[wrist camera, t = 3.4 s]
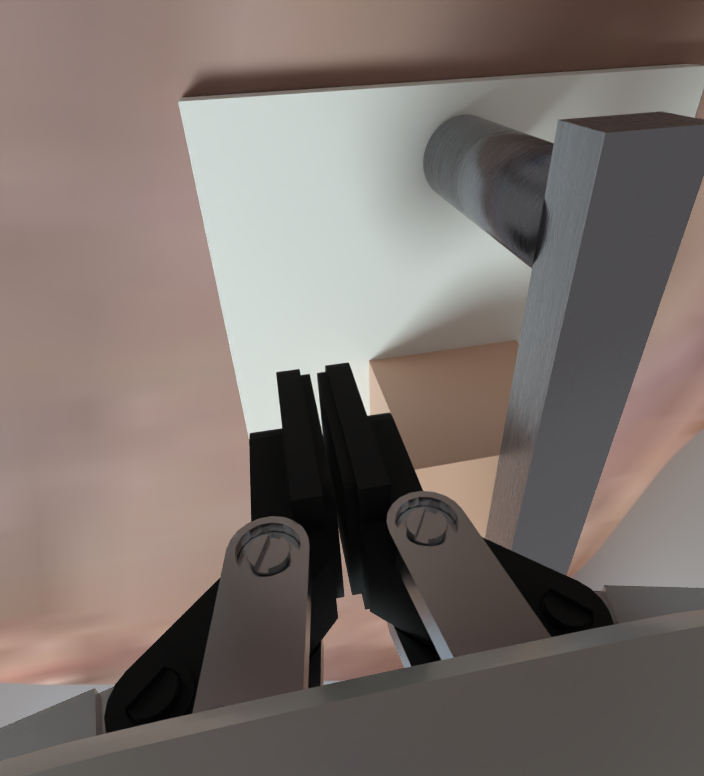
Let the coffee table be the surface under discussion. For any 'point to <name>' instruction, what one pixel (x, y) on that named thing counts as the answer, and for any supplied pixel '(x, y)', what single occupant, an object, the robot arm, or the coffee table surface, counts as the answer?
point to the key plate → (372, 217)
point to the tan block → (450, 417)
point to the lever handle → (571, 291)
